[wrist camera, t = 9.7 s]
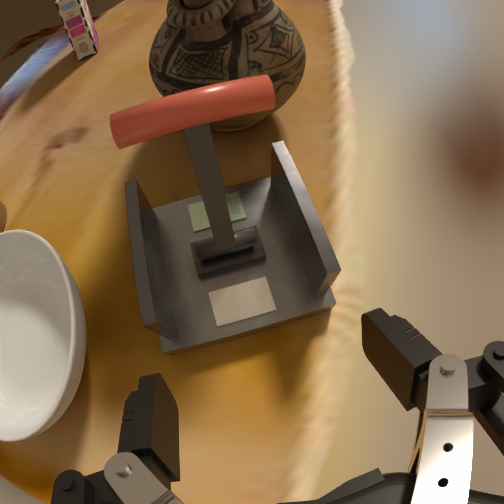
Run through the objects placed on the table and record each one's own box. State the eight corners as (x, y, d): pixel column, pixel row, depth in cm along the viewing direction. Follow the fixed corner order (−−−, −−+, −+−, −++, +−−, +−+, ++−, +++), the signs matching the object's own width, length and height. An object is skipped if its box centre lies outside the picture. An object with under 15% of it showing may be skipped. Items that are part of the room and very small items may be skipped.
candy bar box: (99, 52, 50) (77, -9, 35) (78, 62, 49) (53, 2, 34) (99, 36, 54) (81, -18, 39) (80, 44, 53) (60, -8, 38)
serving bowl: (95, 468, 21) (56, 482, 15) (-30, 394, 23) (-68, 388, 17) (132, 269, 30) (102, 239, 23) (4, 245, 32) (-27, 221, 25)
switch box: (331, 308, 27) (355, 280, 20) (169, 355, 26) (135, 342, 19) (282, 184, 33) (286, 131, 26) (145, 221, 32) (117, 176, 24)
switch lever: (289, 241, 26) (272, 77, 16) (170, 274, 25) (107, 120, 16) (280, 224, 27) (261, 71, 18) (168, 255, 27) (113, 110, 17)
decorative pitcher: (194, 65, 44) (170, -71, 21) (305, 72, 42) (316, -76, 19) (141, 164, 35) (62, -26, 12) (291, 180, 33) (311, -61, 10)
